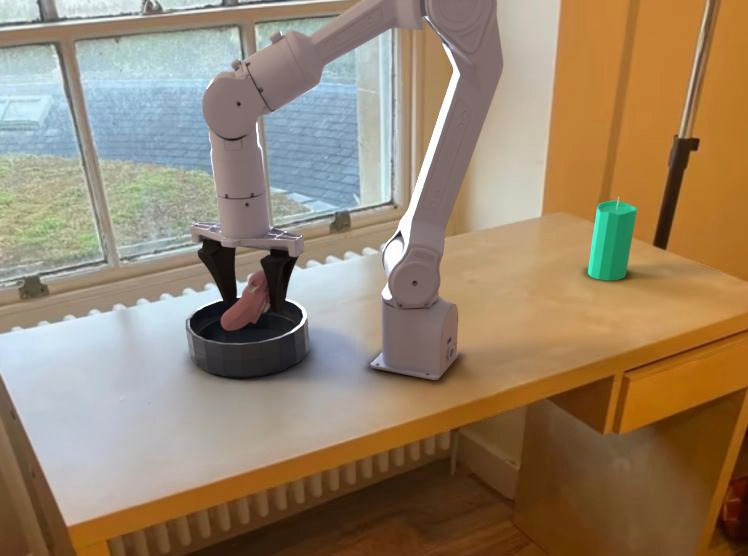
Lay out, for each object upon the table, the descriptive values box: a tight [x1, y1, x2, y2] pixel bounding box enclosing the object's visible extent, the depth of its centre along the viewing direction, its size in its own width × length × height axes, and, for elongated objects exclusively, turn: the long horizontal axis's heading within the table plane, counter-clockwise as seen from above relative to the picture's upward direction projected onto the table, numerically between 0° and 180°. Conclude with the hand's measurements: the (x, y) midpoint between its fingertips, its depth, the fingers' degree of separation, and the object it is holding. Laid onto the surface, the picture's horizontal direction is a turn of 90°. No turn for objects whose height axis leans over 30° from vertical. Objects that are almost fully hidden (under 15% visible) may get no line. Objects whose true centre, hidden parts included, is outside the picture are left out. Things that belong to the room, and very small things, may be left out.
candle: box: [587, 196, 638, 281], centre depth 126 cm, size 6×6×12 cm
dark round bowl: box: [185, 295, 311, 379], centre depth 108 cm, size 16×16×5 cm
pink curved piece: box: [221, 269, 270, 331], centre depth 99 cm, size 10×5×7 cm, turn 169°
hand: (254, 305), depth 100 cm, fingers closed on pink curved piece, 6 cm apart
